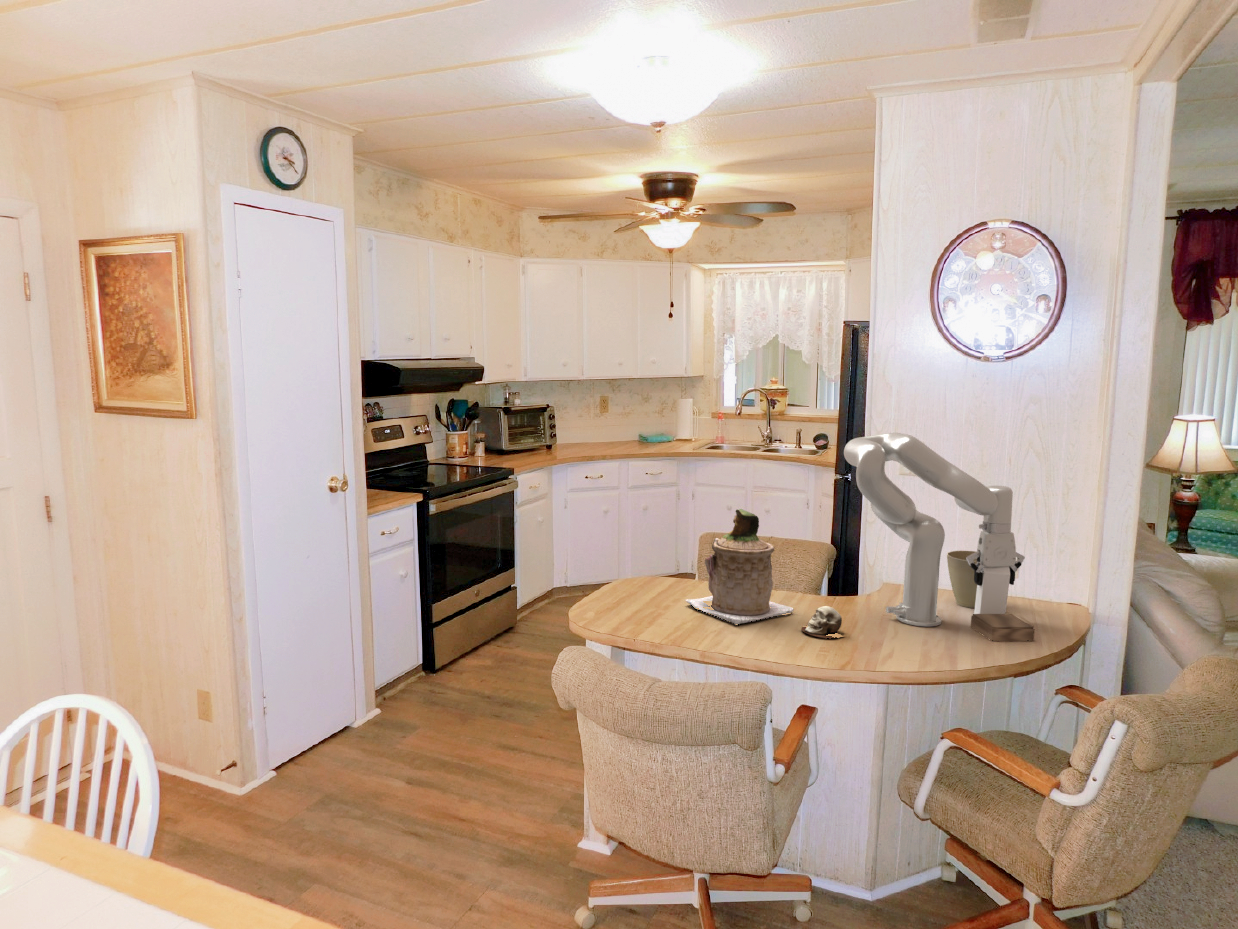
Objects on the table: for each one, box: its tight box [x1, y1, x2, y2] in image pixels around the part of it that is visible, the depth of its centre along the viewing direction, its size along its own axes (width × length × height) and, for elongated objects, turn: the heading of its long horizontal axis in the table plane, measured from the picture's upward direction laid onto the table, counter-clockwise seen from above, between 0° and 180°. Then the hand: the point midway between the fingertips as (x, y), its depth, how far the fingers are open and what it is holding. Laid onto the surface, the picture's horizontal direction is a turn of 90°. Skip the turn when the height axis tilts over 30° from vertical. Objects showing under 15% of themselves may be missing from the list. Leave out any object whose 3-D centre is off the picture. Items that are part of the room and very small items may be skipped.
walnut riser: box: [970, 613, 1035, 642], centre depth 234 cm, size 12×12×4 cm
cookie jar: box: [684, 508, 794, 625], centre depth 250 cm, size 25×25×32 cm
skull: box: [801, 605, 842, 640], centre depth 233 cm, size 12×10×10 cm
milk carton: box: [973, 566, 1010, 614], centre depth 246 cm, size 7×7×19 cm
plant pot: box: [946, 550, 977, 609], centre depth 261 cm, size 15×15×16 cm
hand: (994, 584), depth 246 cm, fingers open, 9 cm apart
